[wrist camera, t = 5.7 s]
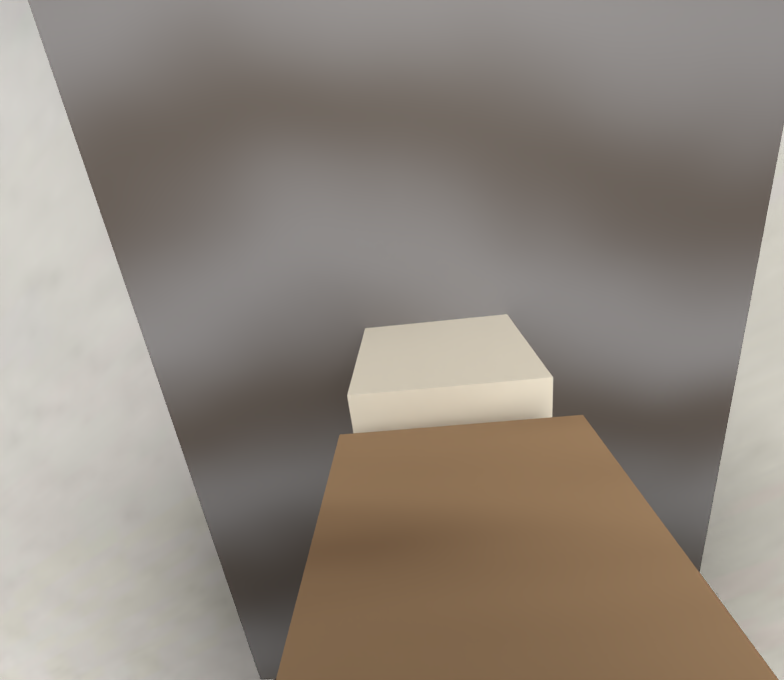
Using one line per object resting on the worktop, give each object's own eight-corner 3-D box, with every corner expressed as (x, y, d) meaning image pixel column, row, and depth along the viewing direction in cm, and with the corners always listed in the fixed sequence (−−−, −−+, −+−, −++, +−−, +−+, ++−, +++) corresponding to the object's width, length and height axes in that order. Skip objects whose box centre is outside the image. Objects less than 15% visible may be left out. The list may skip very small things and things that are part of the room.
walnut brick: (570, 661, 9) (686, 1003, 5) (382, 669, 9) (367, 999, 6) (583, 414, 7) (789, 694, 3) (339, 434, 7) (267, 712, 3)
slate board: (665, 631, 18) (682, 661, 17) (269, 649, 19) (260, 679, 18) (786, -121, 9) (837, -161, 8) (60, -4, 11) (19, -25, 9)
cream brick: (510, 487, 14) (548, 600, 10) (389, 496, 14) (383, 609, 11) (507, 314, 12) (552, 377, 8) (365, 328, 12) (346, 395, 8)
